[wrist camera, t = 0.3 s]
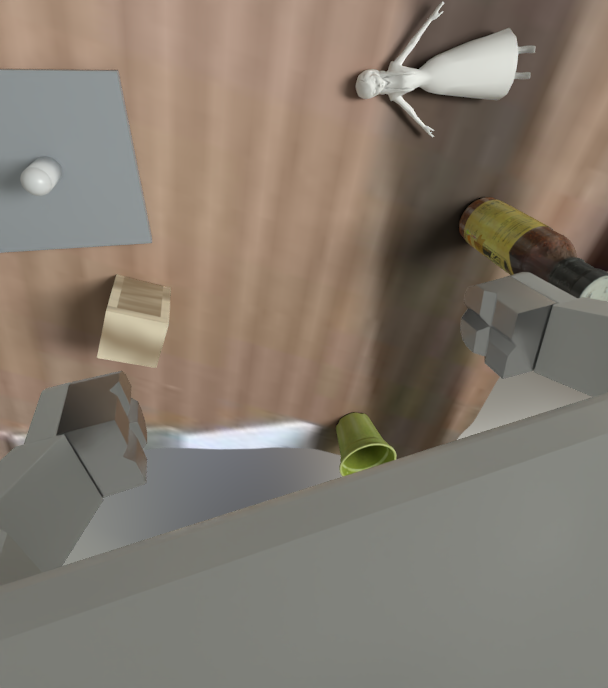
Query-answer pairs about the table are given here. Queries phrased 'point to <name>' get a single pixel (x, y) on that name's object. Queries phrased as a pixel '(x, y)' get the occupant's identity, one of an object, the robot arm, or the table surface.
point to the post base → (67, 162)
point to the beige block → (135, 322)
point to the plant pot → (361, 444)
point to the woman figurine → (450, 71)
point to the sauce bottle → (529, 248)
